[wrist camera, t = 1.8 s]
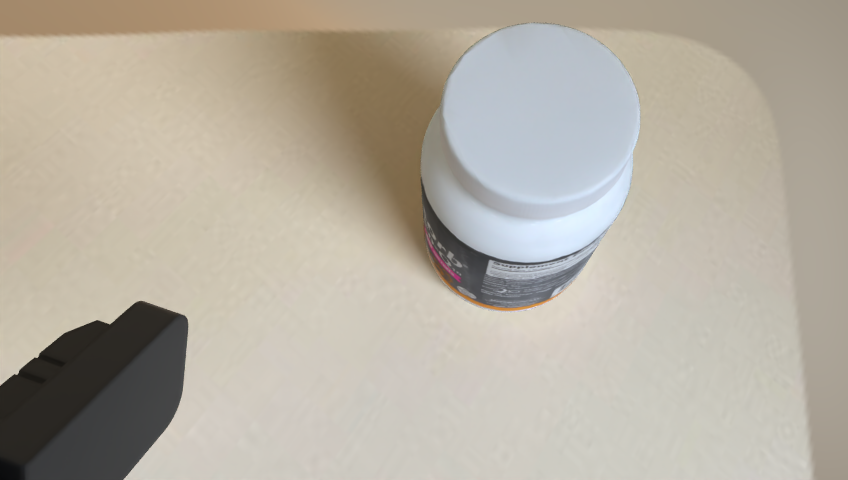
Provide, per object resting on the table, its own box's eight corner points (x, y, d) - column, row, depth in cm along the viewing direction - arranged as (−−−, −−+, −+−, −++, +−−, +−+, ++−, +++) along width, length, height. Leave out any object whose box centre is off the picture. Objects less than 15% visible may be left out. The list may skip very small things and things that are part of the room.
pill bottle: (406, 184, 28) (388, 32, 19) (559, 145, 29) (616, -24, 19) (449, 336, 27) (452, 251, 17) (611, 292, 27) (700, 185, 18)
